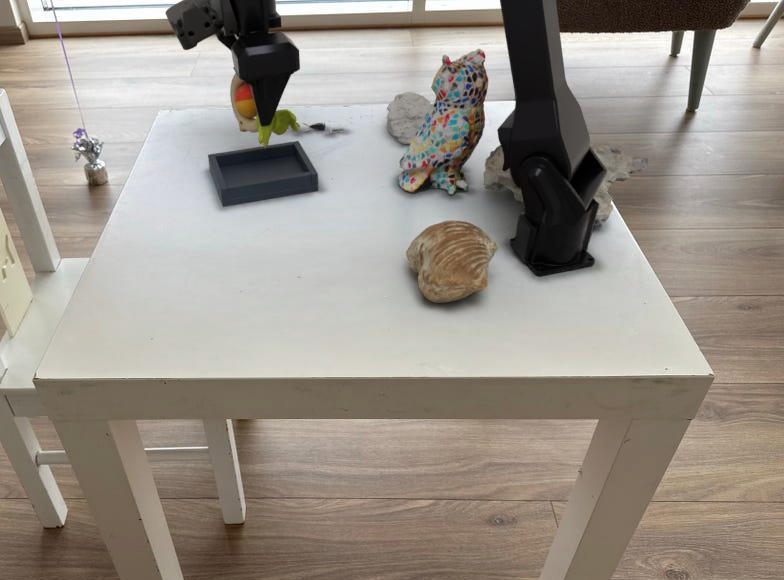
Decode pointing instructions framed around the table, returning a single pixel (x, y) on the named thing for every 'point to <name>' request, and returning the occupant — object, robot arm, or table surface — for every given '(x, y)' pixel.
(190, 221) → the table surface
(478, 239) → the seashell
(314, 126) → the toy
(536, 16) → the robot arm
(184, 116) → the table surface
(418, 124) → the stone
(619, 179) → the fossil rock
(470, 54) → the figurine
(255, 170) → the display tray
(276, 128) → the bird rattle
